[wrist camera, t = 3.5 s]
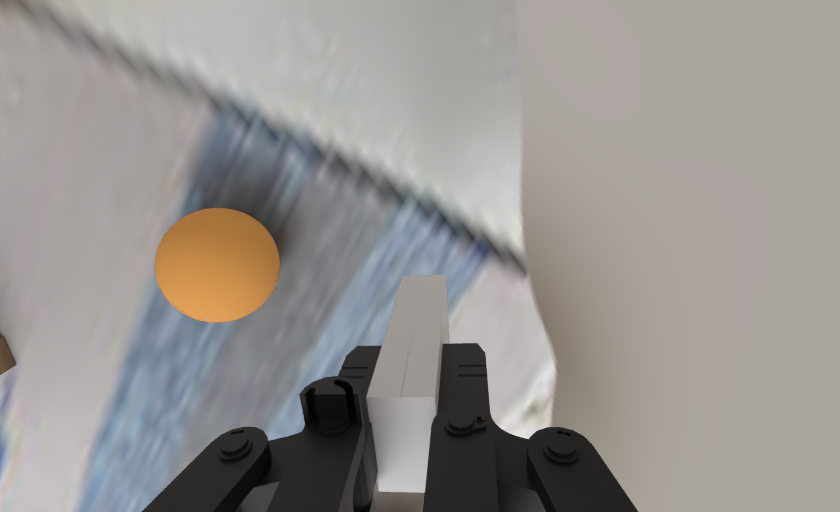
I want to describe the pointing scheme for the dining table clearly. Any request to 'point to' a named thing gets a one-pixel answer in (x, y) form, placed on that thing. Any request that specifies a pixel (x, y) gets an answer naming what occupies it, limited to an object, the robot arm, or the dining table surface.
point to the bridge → (5, 357)
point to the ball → (217, 265)
